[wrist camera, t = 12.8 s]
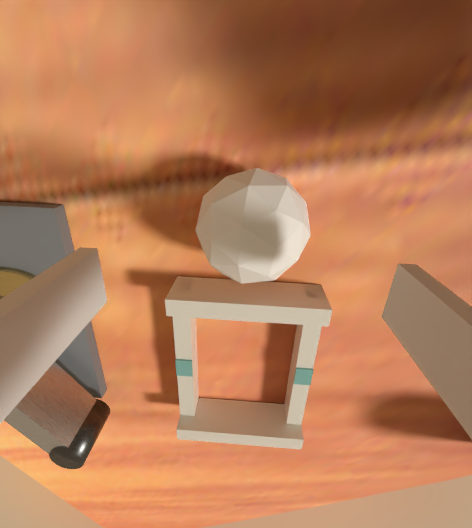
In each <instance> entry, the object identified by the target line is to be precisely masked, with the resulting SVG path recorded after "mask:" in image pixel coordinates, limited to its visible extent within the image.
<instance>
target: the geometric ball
mask: <svg viewBox="0 0 472 528" xmlns="http://www.w3.org/2000/svg"><path fill="white" fill-rule="evenodd" d="M195 231H196V233H197V236H198V239H199V241H200V244H201V246H202V249H203V251H204V253H205V255H206V257H207V259H208V261H209V263H210V265H211V266H212V267H214V268H215V269H216V270H218V271H219V272H220V273H221V274H223V275H225V276H227V277H229V278H231V279H233V280H235V281H237V282H239V283H241V284H244V283H253V282H262V281H272V280H276V279H277V278H278V277H279V276H280V275H282V274H283V273H284V272H285V271H286V270H287V269H288V268H290V267H291V266H292V265H293V264H294V263H295V262H297V261H298V259H299V257H300V255H301V253H302V251H303V249H304V247H305V245H306V243H307V241H308V239H309V237H310V227H309V219H308V210H307V203H306V201H305V200H304V199H303V198H302V197H301V196H300V194H299V193H298V192H297V191H296V190H295V188H294V187H293V186H292V185H291V184H290V182H289V181H288V180H287V179H286V178H285V177H282V176H279V175H276V174H273V173H271V172H268V171H265V170H262V169H259V168H255V169H251V170H247V171H244V172H240V173H236V174H233V175H229V176H227V177H225V178H223V179H222V180H221V181H220V182H219V183H218V184H216V185H215V186H214V187H213V188H212V189H211V190H209V191H208V192H207V193H206V194H205V195H204V196H203V199H202V203H201V208H200V212H199V217H198V221H197V226H196V230H195Z"/></svg>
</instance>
